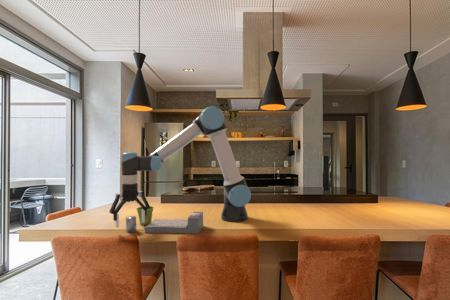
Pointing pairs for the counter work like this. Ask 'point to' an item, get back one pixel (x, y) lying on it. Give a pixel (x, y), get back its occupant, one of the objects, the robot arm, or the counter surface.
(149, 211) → the plant pot
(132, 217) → the spacer
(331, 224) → the counter surface
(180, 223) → the pan
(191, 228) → the scale
